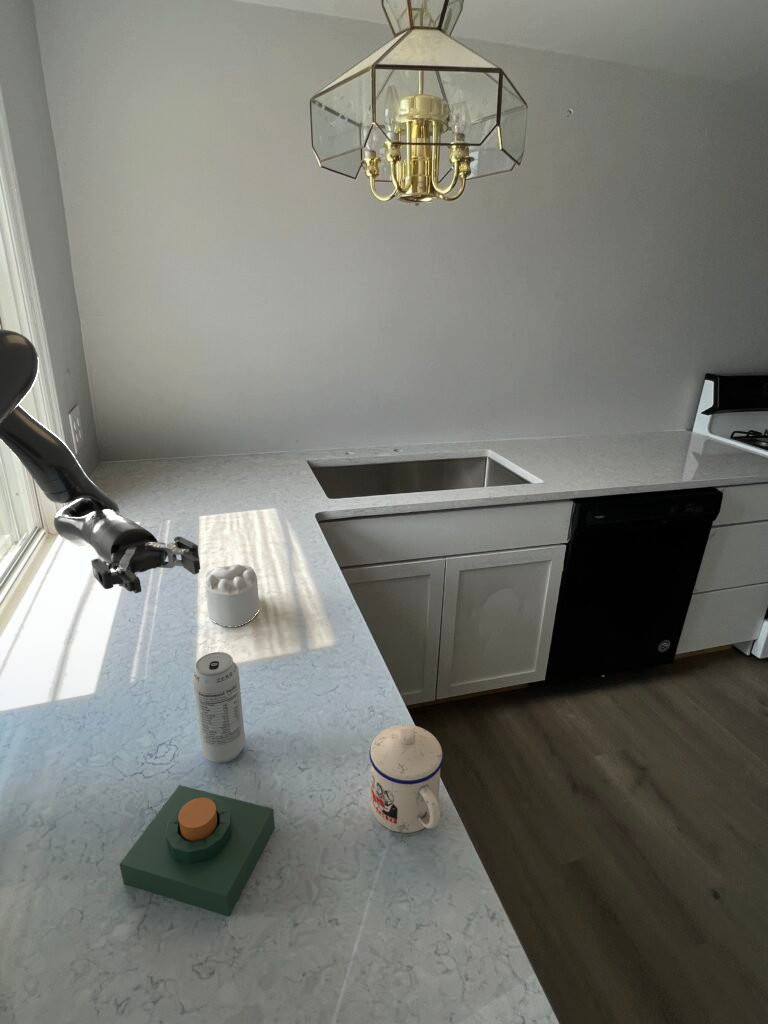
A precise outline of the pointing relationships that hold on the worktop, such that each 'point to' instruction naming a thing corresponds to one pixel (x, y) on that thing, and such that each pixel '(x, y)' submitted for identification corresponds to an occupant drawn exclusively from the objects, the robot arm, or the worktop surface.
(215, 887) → the button base
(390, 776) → the teacup with lid
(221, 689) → the energy drink can
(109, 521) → the robot arm
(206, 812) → the orange round push button
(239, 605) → the lumpy-topped squat cylinder
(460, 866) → the worktop surface
